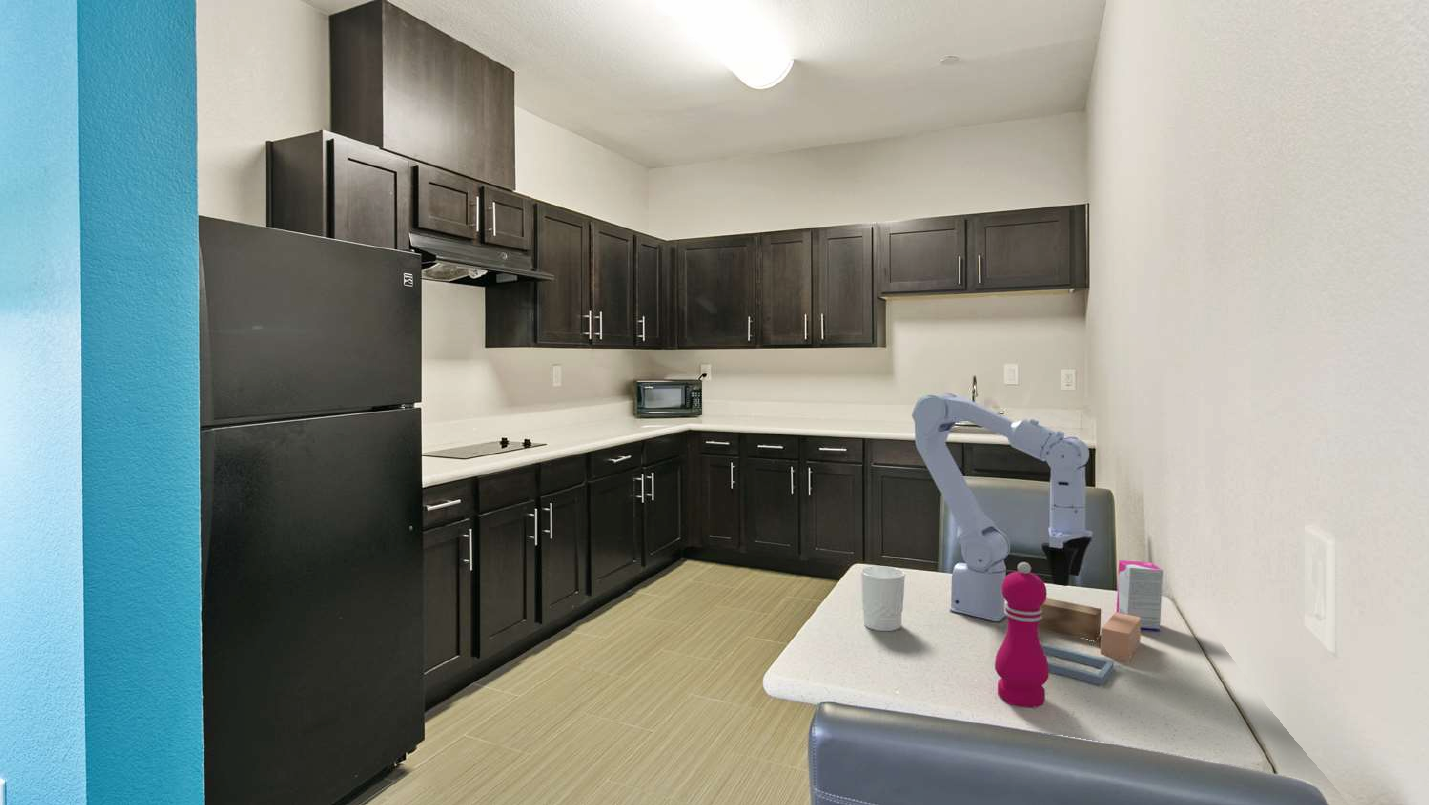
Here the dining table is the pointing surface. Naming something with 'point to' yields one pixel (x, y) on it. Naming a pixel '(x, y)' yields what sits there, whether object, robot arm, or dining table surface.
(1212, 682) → the dining table surface
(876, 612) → the white cup
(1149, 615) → the supplement box
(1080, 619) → the wooden block on base
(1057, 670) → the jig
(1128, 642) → the pinkish tan block
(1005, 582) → the pepper mill
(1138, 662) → the dining table surface
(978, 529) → the robot arm
